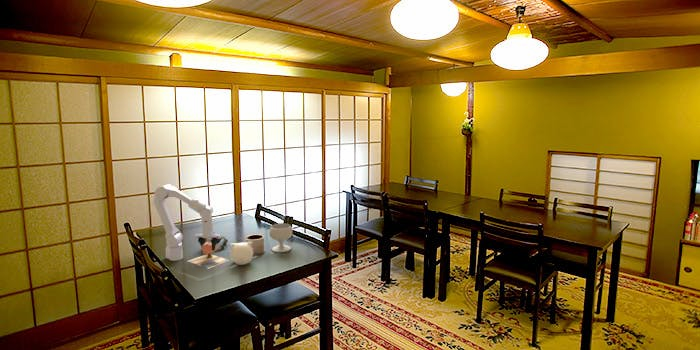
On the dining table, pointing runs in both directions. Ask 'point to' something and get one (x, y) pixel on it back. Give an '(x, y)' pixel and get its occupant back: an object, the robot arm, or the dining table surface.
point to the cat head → (241, 252)
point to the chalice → (280, 236)
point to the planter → (256, 243)
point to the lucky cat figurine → (219, 243)
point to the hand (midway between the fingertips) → (208, 250)
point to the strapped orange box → (207, 248)
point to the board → (208, 261)
